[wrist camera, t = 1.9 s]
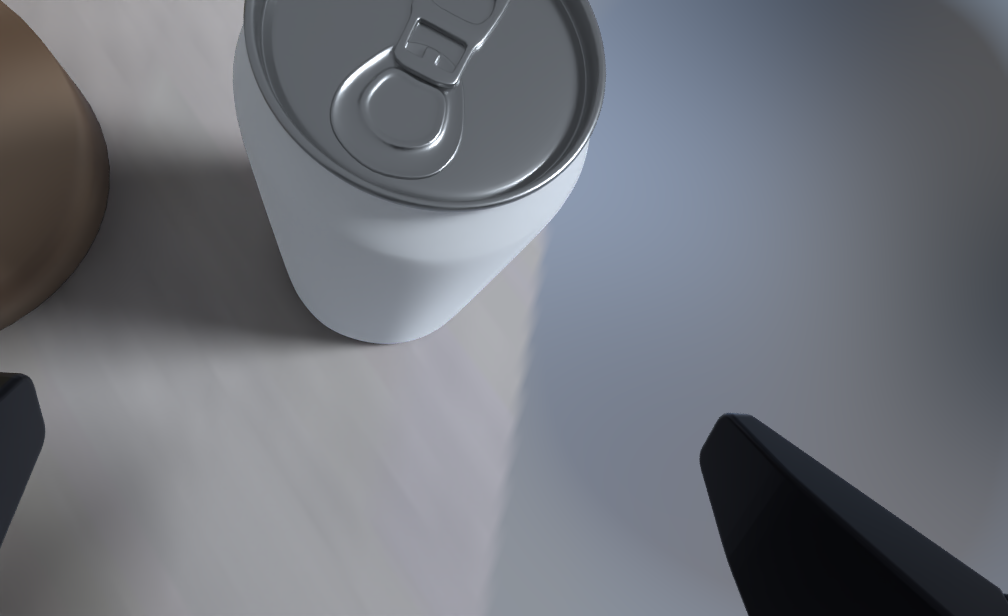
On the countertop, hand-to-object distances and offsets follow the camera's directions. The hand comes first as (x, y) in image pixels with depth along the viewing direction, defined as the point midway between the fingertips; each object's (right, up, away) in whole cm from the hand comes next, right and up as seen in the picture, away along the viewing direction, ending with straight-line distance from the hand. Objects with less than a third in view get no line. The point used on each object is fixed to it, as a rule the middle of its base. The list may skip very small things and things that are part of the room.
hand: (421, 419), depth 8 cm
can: (-3, +3, +13) cm, 14 cm away
